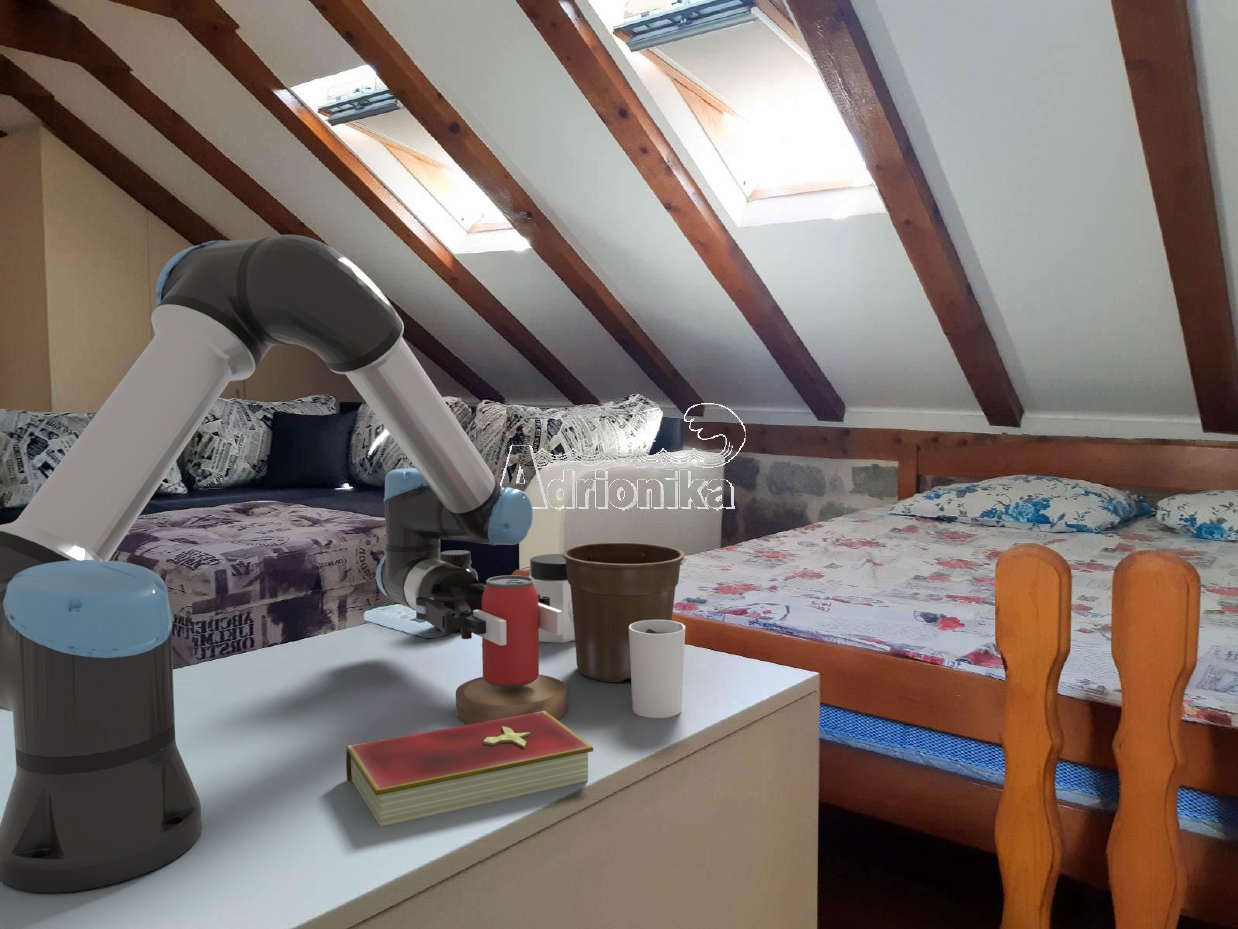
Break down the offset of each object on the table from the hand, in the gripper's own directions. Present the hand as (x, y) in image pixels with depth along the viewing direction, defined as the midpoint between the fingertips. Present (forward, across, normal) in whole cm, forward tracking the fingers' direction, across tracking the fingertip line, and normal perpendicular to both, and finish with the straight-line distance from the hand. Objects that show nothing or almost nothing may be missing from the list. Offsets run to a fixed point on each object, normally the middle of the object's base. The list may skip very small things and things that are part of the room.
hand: (532, 628), depth 108 cm
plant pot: (-10, -20, -11) cm, 25 cm away
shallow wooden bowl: (-5, 0, -11) cm, 12 cm away
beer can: (-5, 0, -8) cm, 9 cm away
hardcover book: (+10, +13, -12) cm, 20 cm away
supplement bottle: (-44, -12, -11) cm, 47 cm away
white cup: (+5, -14, -11) cm, 19 cm away
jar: (-30, -22, -11) cm, 39 cm away
